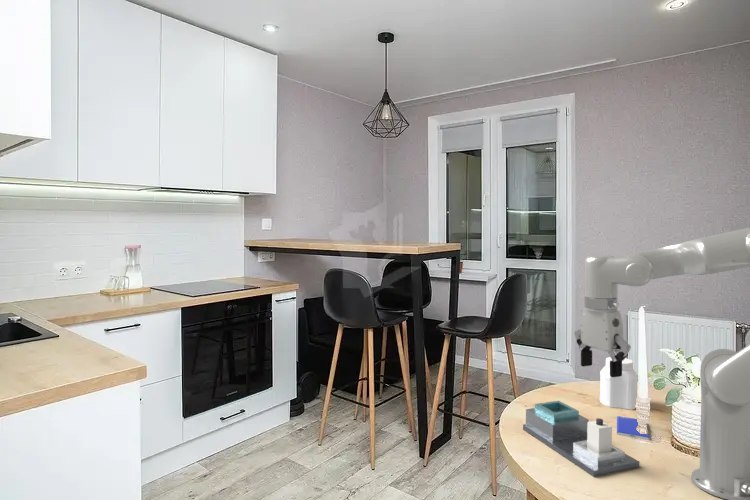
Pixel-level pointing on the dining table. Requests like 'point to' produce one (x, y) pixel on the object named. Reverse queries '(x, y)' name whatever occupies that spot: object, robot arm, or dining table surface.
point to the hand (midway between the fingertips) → (600, 370)
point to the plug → (599, 436)
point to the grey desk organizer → (573, 439)
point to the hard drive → (629, 428)
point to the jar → (619, 386)
